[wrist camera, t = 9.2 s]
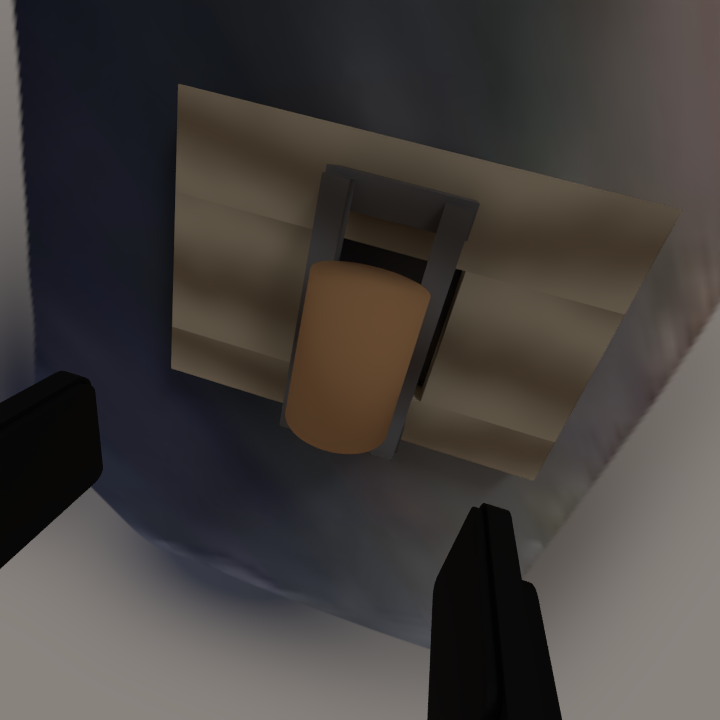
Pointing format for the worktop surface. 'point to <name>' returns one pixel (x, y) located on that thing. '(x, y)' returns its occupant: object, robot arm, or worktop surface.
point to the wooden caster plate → (413, 238)
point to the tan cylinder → (352, 354)
